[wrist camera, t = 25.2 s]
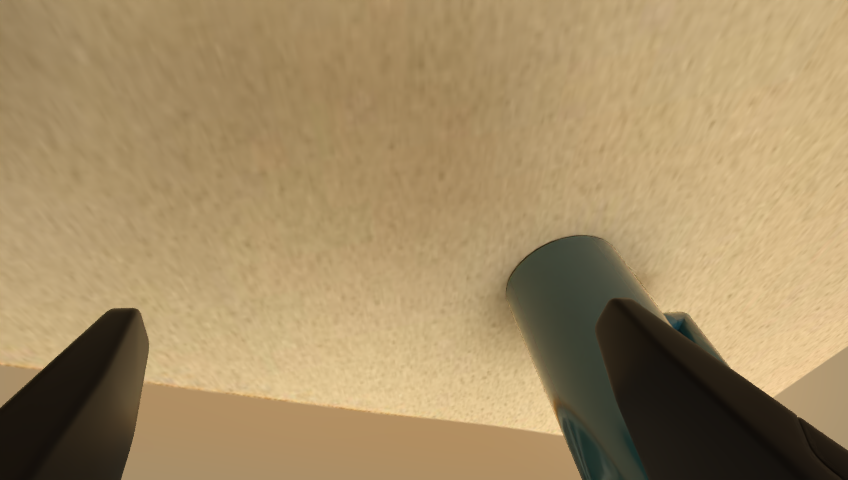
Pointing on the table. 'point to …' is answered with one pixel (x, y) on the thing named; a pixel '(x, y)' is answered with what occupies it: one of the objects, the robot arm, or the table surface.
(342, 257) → the table surface
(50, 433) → the robot arm
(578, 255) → the mug
